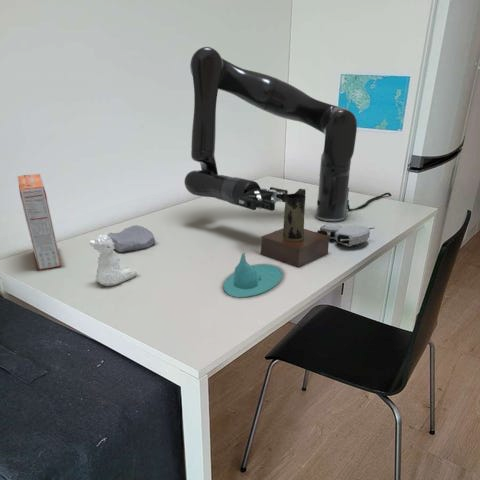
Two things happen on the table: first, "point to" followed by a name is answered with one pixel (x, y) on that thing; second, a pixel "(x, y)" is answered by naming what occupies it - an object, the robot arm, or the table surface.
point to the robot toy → (346, 233)
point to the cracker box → (39, 221)
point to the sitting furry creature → (109, 263)
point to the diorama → (251, 279)
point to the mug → (294, 216)
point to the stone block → (132, 238)
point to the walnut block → (294, 247)
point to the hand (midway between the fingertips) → (284, 203)
